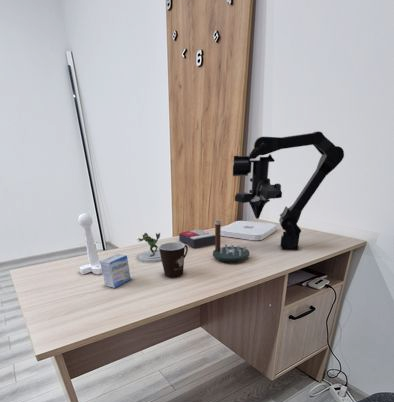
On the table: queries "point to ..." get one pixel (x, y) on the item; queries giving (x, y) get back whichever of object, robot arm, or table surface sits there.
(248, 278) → the table surface
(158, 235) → the monster figurine
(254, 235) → the computer
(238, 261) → the turntable base
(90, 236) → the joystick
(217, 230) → the pegged disc stand
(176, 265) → the coffee mug
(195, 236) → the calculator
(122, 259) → the medicine box
